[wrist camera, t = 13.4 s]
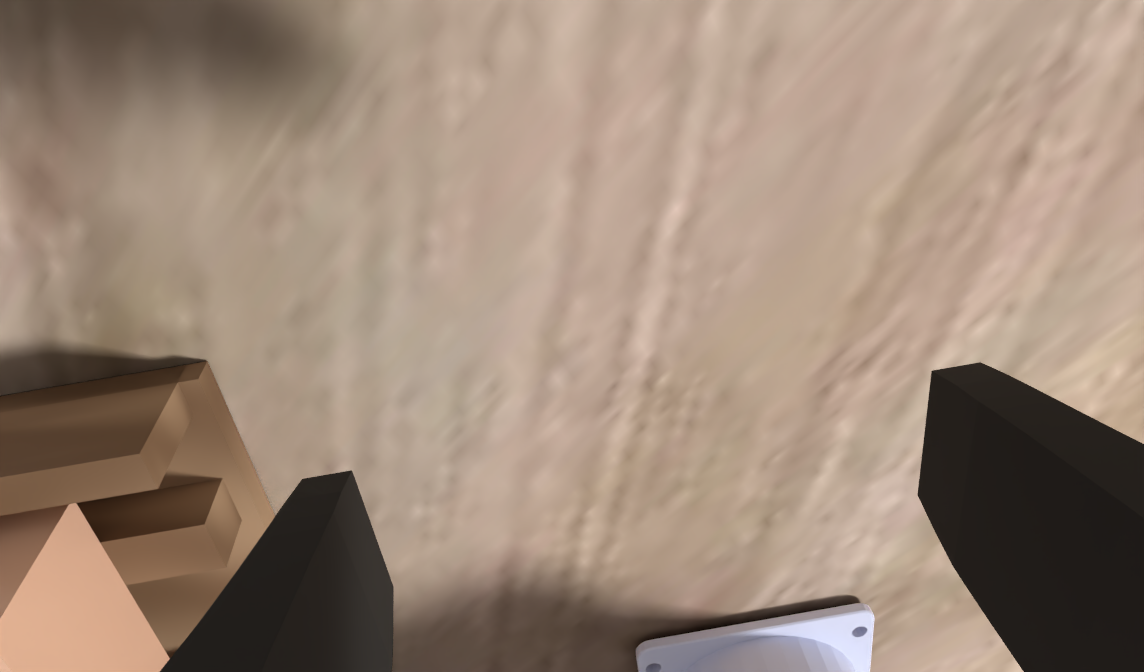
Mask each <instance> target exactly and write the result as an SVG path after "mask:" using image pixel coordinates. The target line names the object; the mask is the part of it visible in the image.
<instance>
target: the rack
mask: <svg viewBox="0 0 1144 672" xmlns="http://www.w3.org/2000/svg"><path fill="white" fill-rule="evenodd" d="M73 503H77V505H78V507H79V508H80V510H81V512H82V513H83V515H84V517H85V518H86V520H87V522H88V523H89V525H90V527H91V528H92V530H93V532H94V533H95V535H96V537H97V538H98V540H99V542H100V543H101V545H102V547H103V548H104V550H105V552H106V553H107V555H108V557H109V558H110V560H111V562H112V563H113V565H114V567H115V568H116V570H117V572H118V573H119V575H120V577H121V578H122V580H123V582H124V583H125V585H126V587H127V588H128V590H129V592H130V593H131V595H132V597H133V598H134V600H135V602H136V603H137V605H138V607H139V608H140V610H141V612H142V613H143V615H144V617H145V618H146V620H147V622H148V623H149V625H150V627H151V628H152V630H153V632H154V633H155V635H156V637H157V638H158V640H159V642H160V643H161V645H162V647H163V648H164V650H165V652H166V653H167V655H168V656H169V658H171V657H172V656H173V654H174V653H175V652H176V651H177V649H178V648H179V647H180V646H181V644H182V643H183V642H184V641H185V639H186V638H187V637H188V636H189V634H190V633H191V632H192V631H193V629H194V628H195V627H196V625H197V624H198V623H199V621H200V620H201V619H202V617H203V616H204V615H205V613H206V612H207V611H208V609H209V608H210V606H211V605H212V604H213V602H214V601H215V600H216V598H217V597H218V596H219V594H220V593H221V592H222V590H223V589H224V588H225V586H226V585H227V583H228V582H229V581H230V579H231V578H232V577H233V575H234V574H235V573H236V571H237V570H238V568H239V567H240V566H241V564H242V563H243V561H244V560H245V559H246V557H247V556H248V554H249V553H250V552H251V550H252V549H253V547H254V546H255V545H256V543H257V542H258V540H259V539H260V537H261V536H262V535H263V533H264V532H265V530H266V529H267V527H268V526H269V525H270V523H271V522H272V520H273V519H274V517H275V515H274V513H273V510H272V508H271V506H270V503H269V501H268V499H267V497H266V494H265V492H264V490H263V487H262V485H261V483H260V480H259V478H258V476H257V474H256V471H255V469H254V467H253V464H252V462H251V460H250V458H249V455H248V453H247V451H246V448H245V446H244V444H243V442H242V439H241V437H240V435H239V432H238V430H237V428H236V426H235V423H234V421H233V419H232V416H231V414H230V412H229V410H228V407H227V405H226V403H225V400H224V398H223V396H222V394H221V391H220V389H219V387H218V384H217V382H216V380H215V378H214V375H213V373H212V371H211V368H210V366H209V364H208V361H206V362H200V363H194V364H188V365H182V366H176V367H170V368H164V369H158V370H152V371H146V372H141V373H135V374H129V375H123V376H117V377H111V378H105V379H99V380H93V381H87V382H81V383H75V384H69V385H63V386H58V387H52V388H46V389H40V390H34V391H28V392H22V393H16V394H10V395H4V396H0V516H3V515H9V514H14V513H20V512H26V511H32V510H38V509H44V508H49V507H55V506H61V505H67V504H73Z"/></svg>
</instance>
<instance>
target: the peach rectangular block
mask: <svg viewBox="0 0 1144 672" xmlns="http://www.w3.org/2000/svg"><path fill="white" fill-rule="evenodd" d="M169 659H170V658H169V656H168V655H167V653H166V652H165V650H164V648H163V647H162V645H161V643H160V642H159V640H158V638H157V637H156V635H155V633H154V632H153V630H152V628H151V627H150V625H149V623H148V622H147V620H146V618H145V617H144V615H143V613H142V612H141V610H140V608H139V607H138V605H137V603H136V602H135V600H134V598H133V597H132V595H131V593H130V592H129V590H128V588H127V587H126V585H125V583H124V582H123V580H122V578H121V577H120V575H119V573H118V572H117V570H116V568H115V567H114V565H113V563H112V562H111V560H110V558H109V557H108V555H107V553H106V552H105V550H104V548H103V547H102V545H101V543H100V542H99V540H98V538H97V537H96V535H95V533H94V532H93V530H92V528H91V527H90V525H89V523H88V522H87V520H86V518H85V517H84V515H83V513H82V512H81V510H80V508H79V507H78V505H77V503H73V504H67V505H61V506H55V507H49V508H44V509H38V510H32V511H26V512H20V513H14V514H9V515H3V516H0V672H160V670H161V669H162V668H163V667H164V666H165V664H166V663H167V662H168V661H169Z"/></svg>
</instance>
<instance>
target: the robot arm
mask: <svg viewBox="0 0 1144 672" xmlns="http://www.w3.org/2000/svg"><path fill="white" fill-rule="evenodd" d="M918 497H919V499H920V501H921V503H922V505H923V507H924V509H925V511H926V513H927V516H928V518H929V520H930V522H931V524H932V526H933V528H934V530H935V532H936V534H937V536H938V538H939V540H940V542H941V544H942V546H943V548H944V550H945V552H946V554H947V555H948V557H949V559H950V561H951V563H952V565H953V567H954V568H955V570H956V571H957V573H958V575H959V576H960V578H961V579H962V581H963V582H964V584H965V585H966V587H967V588H968V590H969V591H970V593H971V594H972V596H973V597H974V599H975V600H976V602H977V603H978V605H979V606H980V608H981V609H982V611H983V612H984V614H985V615H986V617H987V618H988V620H989V621H990V623H991V624H992V626H993V627H994V629H995V630H996V632H997V633H998V635H999V636H1000V637H1001V639H1002V640H1003V642H1004V643H1005V645H1006V646H1007V648H1008V649H1009V651H1010V652H1011V654H1012V655H1013V657H1014V658H1015V660H1016V661H1017V662H1018V664H1019V665H1020V667H1021V668H1022V670H1023V671H1024V672H1144V444H1142V443H1140V442H1138V441H1136V440H1134V439H1132V438H1130V437H1128V436H1126V435H1124V434H1122V433H1120V432H1118V431H1117V430H1115V429H1113V428H1111V427H1109V426H1107V425H1105V424H1103V423H1101V422H1099V421H1097V420H1095V419H1093V418H1091V417H1089V416H1087V415H1085V414H1083V413H1081V412H1079V411H1077V410H1076V409H1074V408H1072V407H1070V406H1068V405H1066V404H1064V403H1062V402H1060V401H1058V400H1056V399H1054V398H1052V397H1050V396H1048V395H1046V394H1044V393H1043V392H1041V391H1039V390H1037V389H1035V388H1033V387H1031V386H1029V385H1027V384H1025V383H1023V382H1021V381H1019V380H1017V379H1015V378H1013V377H1011V376H1009V375H1007V374H1005V373H1002V372H1000V371H998V370H996V369H994V368H992V367H989V366H987V365H985V364H983V363H974V364H969V365H963V366H957V367H951V368H945V369H940V370H934V371H932V374H931V382H930V391H929V400H928V409H927V418H926V426H925V435H924V444H923V453H922V461H921V470H920V479H919V488H918ZM873 629H874V614H873V612H872V610H871V608H870V607H869V606H868V605H867V604H863V603H855V604H849V605H843V606H838V607H832V608H827V609H821V610H815V611H810V612H804V613H798V614H793V615H787V616H781V617H776V618H770V619H765V620H759V621H753V622H748V623H742V624H736V625H731V626H725V627H719V628H714V629H708V630H702V631H697V632H691V633H686V634H680V635H674V636H669V637H663V638H657V639H652V640H647V641H644V642H643V643H641V644H640V645H639V646H638V647H637V648H636V659H637V666H638V672H870V664H871V652H872V641H873ZM392 657H393V584H392V582H391V579H390V576H389V573H388V570H387V568H386V565H385V562H384V559H383V556H382V554H381V551H380V548H379V545H378V542H377V539H376V537H375V534H374V531H373V528H372V525H371V523H370V520H369V517H368V514H367V511H366V509H365V506H364V503H363V500H362V497H361V495H360V492H359V489H358V486H357V483H356V481H355V478H354V475H353V472H352V471H346V472H340V473H335V474H329V475H323V476H317V477H311V478H306V479H302V480H301V482H300V483H299V484H298V486H297V487H296V488H295V490H294V491H293V492H292V494H291V495H290V497H289V498H288V499H287V501H286V502H285V503H284V505H283V506H282V508H281V509H280V510H279V512H278V513H277V515H276V516H275V517H274V519H273V520H272V522H271V523H270V525H269V526H268V527H267V529H266V530H265V532H264V533H263V535H262V536H261V537H260V539H259V540H258V542H257V543H256V545H255V546H254V547H253V549H252V550H251V552H250V553H249V554H248V556H247V557H246V559H245V560H244V561H243V563H242V564H241V566H240V567H239V568H238V570H237V571H236V573H235V574H234V575H233V577H232V578H231V579H230V581H229V582H228V583H227V585H226V586H225V588H224V589H223V590H222V592H221V593H220V594H219V596H218V597H217V598H216V600H215V601H214V602H213V604H212V605H211V606H210V608H209V609H208V611H207V612H206V613H205V615H204V616H203V617H202V619H201V620H200V621H199V623H198V624H197V625H196V627H195V628H194V629H193V631H192V632H191V633H190V634H189V636H188V637H187V638H186V639H185V641H184V642H183V643H182V644H181V646H180V647H179V648H178V649H177V651H176V652H175V653H174V654H173V656H172V657H171V658H170V659H169V661H168V662H167V663H166V664H165V666H164V667H163V668H162V669H161V670H160V672H392Z"/></svg>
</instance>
